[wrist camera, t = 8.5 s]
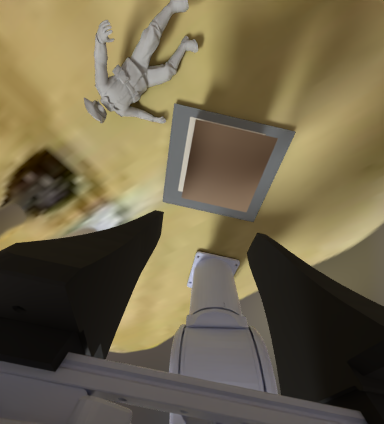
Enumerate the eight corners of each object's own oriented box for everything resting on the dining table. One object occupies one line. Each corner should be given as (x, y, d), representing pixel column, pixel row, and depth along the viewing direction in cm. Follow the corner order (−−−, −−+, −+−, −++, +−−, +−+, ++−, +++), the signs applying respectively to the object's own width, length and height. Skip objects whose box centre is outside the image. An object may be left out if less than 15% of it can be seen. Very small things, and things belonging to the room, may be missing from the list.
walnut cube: (233, 192, 15) (246, 212, 10) (188, 182, 15) (181, 197, 10) (251, 142, 13) (277, 138, 8) (198, 129, 12) (195, 119, 8)
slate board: (252, 220, 21) (253, 222, 20) (163, 200, 21) (162, 201, 20) (292, 132, 16) (295, 131, 15) (175, 104, 16) (174, 103, 15)
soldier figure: (208, 85, 15) (134, 158, 16) (184, 77, 18) (120, 141, 18) (178, -55, 9) (50, 81, 9) (146, -38, 11) (44, 70, 11)
